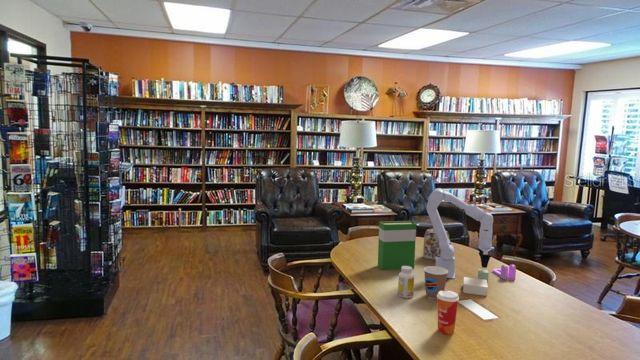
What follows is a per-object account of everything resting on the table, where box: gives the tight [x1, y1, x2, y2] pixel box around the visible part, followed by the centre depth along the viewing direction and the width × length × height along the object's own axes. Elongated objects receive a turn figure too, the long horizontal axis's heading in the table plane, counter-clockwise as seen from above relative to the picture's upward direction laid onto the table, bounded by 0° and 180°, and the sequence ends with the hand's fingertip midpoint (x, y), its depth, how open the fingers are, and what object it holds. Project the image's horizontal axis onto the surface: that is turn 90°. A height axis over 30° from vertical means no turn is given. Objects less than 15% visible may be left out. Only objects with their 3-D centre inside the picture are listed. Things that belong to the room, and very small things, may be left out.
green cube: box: [477, 268, 490, 284], centre depth 203 cm, size 4×4×5 cm
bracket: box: [492, 264, 517, 280], centre depth 212 cm, size 13×6×7 cm, turn 8°
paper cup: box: [437, 290, 460, 336], centre depth 150 cm, size 8×8×14 cm
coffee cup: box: [423, 265, 448, 300], centre depth 182 cm, size 10×10×12 cm
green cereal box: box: [377, 220, 417, 271], centre depth 221 cm, size 18×7×24 cm, turn 102°
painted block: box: [462, 276, 489, 297], centre depth 191 cm, size 10×10×4 cm
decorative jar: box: [422, 227, 450, 261], centre depth 239 cm, size 12×12×18 cm
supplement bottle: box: [397, 266, 415, 299], centre depth 182 cm, size 7×7×13 cm
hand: (483, 265), depth 203 cm, fingers open, 7 cm apart
